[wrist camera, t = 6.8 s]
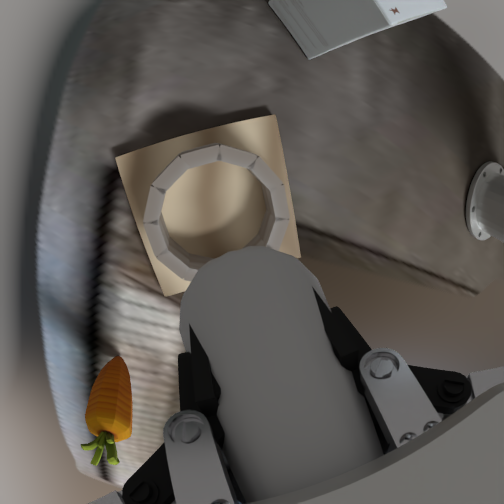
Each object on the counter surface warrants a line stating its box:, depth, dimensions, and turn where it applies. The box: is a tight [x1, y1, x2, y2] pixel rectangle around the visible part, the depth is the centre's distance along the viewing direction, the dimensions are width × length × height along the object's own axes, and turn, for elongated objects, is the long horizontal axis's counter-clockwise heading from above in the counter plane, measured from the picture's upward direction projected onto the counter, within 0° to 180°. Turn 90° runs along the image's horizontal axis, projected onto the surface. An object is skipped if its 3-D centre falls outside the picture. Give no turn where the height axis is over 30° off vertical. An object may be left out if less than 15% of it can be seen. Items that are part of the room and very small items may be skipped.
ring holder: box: [115, 115, 301, 297], centre depth 25 cm, size 14×14×4 cm
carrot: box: [81, 356, 132, 466], centre depth 24 cm, size 5×5×15 cm
